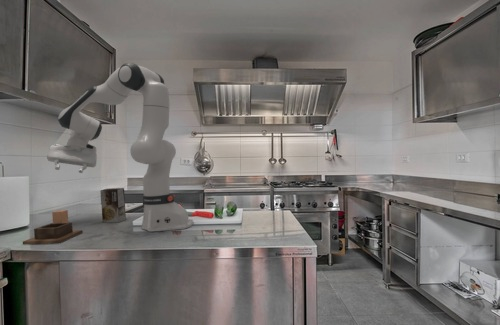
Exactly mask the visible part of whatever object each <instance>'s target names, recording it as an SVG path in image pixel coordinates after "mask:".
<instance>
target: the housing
mask: <svg viewBox="0 0 500 325" xmlns="http://www.w3.org/2000/svg"><path fill="white" fill-rule="evenodd" d="M33 232H34V233H33V234H34V235H33V237H31V238H28V239H26V240H23V241H22V245H23V244H32V245H49V244H48V243H60V244H62V243H64V242H66V241H68V240H70V238H71V239H73V238H74V237H76V236H79V235H81V234H84V231H83V229H80V230H79V229H78V230H77V229H75V230H73V222H68V223H53V222H51V223H48V224H45V225H42V226H38V227H35V228H33ZM61 242H62V243H61Z"/></svg>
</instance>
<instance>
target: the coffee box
mask: <svg viewBox="0 0 500 325" xmlns="http://www.w3.org/2000/svg"><path fill="white" fill-rule="evenodd" d="M99 191H100V205H101V215H102V216H101V217H102V218H101V219H102V223H120V222H122V221H126V219H127V215H126V212H127V211H126V201H125V200H126V198H125V187H120V188H119V187H117V188H115V187H114V188H104V189H101V190H99Z"/></svg>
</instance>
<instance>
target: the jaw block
mask: <svg viewBox="0 0 500 325" xmlns="http://www.w3.org/2000/svg"><path fill="white" fill-rule="evenodd" d="M68 212H69V210H67V209H61V210H60V209H59V210H54V211H52V213H51V215H52V216H51V217H52V223H69V214H68Z"/></svg>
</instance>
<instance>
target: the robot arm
mask: <svg viewBox="0 0 500 325" xmlns="http://www.w3.org/2000/svg"><path fill="white" fill-rule="evenodd" d="M133 91H135V92H138V93H141V94H142V97H143V100H142V101H143V102H142V120H141V125H140V126H141V127H140V130H139V133H138V136H137V138H136V140H135V141H133V143H132V144H131V146H130V156H131V158H132V159H133V160H134V161H135V162H137V163H140V164H143V165H147V169H146V172H145V174H144V175H143V178H142V184H143V185H142V186H143V188H142V189H143V196H142V208H143V218H142V224H141V227H140V228H141V229H142V230H144V231H145V230H146V231H147V232H162V231H173V230H174V231H175V230H183V229H188V228H190V227H192V226H193V225H194V223H195V222H194V220H193V219H191V218H189V214H188V211H187V209H186V208H184V207H183V206H181V204H178V203H177V202H175V197H176V196H175V195H176V194H172V193H170V174H171V173H170V172H171V167H172V163H173V160H174V158H175V157H176V147H175V145H174V144H173V143H172V142H170V141H168V140H166V139H163V138H164V135H165V132H166V130H167V129H168V128H169V124H170V94H169V88H168V86H166V83H165V80H164V78H163V77H162V76H161V75H160V74H158V73H157V72H156V71H152V70H150V69H149V68H147V67H145V66H142V65H138V64H136V63H132V62H126V63H123V64H122V65H121V66H119V67H118V68H117V69H116V70H114V71H113V73H111V74H110V75H109V77H108V78H107V80H105V82H104V83H102V84H100V85H93V86H90V87H89V88H88V89H86V90H85V91H84V92H83V93H82V94H80V95H79V96H78V97H77V98H76V99H75V100H74V101H73V102H71V103H70V105H68V106H67V107H66V108H65V107H64V109H63V110H62V111H60V113H59V114H58V118H57V121H58V123H59V125H60V126H61V128H65V129H68V130H70V131H71V132H70V135H69V138H68V140H67V142H66V145H63V144H52V145H51V146H50V147H49V150H48V152H47V155H46V159H47V161H48V162H51V163H52V162H53V163H54V170H56V171H59V170H60V169H61V165H60V164H66V165H73V166H79V169H78V173H79V174H83V173H84V171H85V170H86V169H87V168H95V167H96V166H97V158H98V156H97V147H96V146H95V145H91V144H90V143H89V142H90V141H94V140H96V139H98V138H99V136H100V135H101V132H102V128H103V125H102V123H101V121H100V120H98V119H95V118H94V117H92V116H89V115H87V114H85V113H83V112H81V110H83V109H84V108H85V107H86V106H87V105H88V104H91V103H100V104H105V105H108V106H117V105H120V104H123V103H124V102H125V101H126V99H127V98H128V97H129V96H130V94H131V93H132V92H133ZM80 166H81V167H80Z"/></svg>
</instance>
